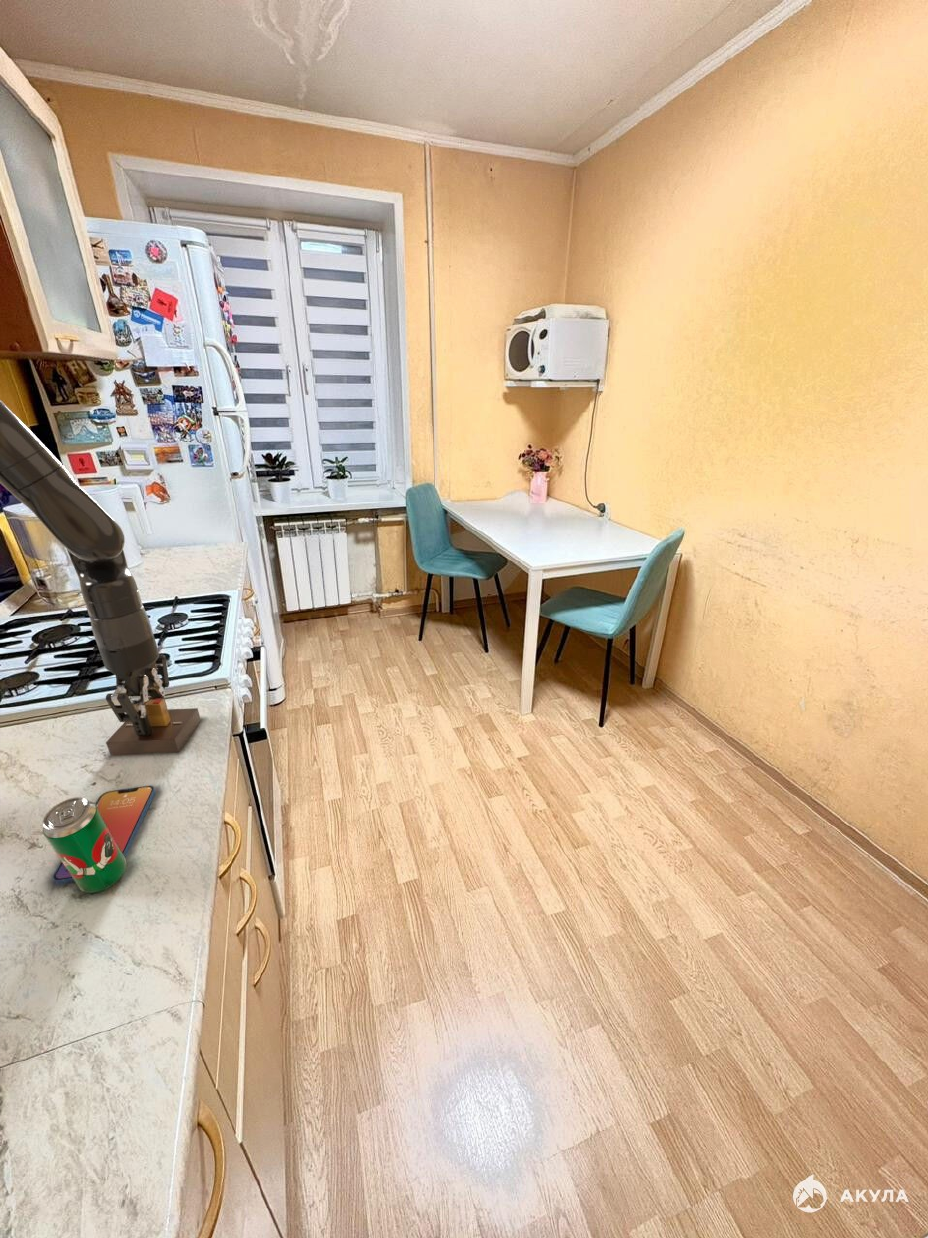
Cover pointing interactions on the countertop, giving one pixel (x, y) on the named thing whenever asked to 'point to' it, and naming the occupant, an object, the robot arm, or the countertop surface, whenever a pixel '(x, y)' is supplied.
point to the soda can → (84, 844)
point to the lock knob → (156, 712)
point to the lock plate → (156, 735)
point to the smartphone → (118, 819)
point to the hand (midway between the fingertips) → (153, 724)
